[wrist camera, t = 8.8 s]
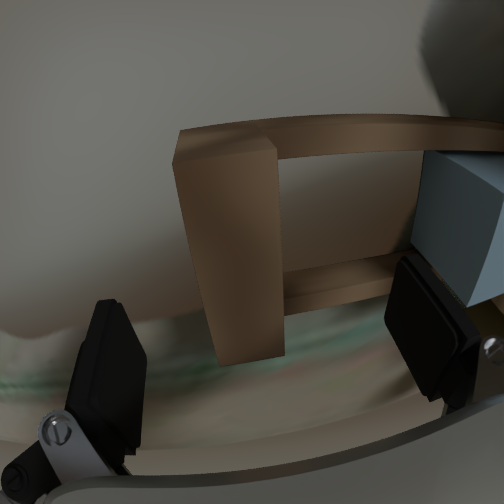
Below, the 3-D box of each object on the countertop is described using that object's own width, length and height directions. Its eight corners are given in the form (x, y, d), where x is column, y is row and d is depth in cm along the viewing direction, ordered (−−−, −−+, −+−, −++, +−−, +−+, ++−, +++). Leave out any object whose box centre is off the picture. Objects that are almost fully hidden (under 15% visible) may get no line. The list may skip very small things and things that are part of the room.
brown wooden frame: (522, 126, 14) (572, 152, 10) (495, 244, 19) (531, 279, 16) (180, 130, 12) (172, 163, 9) (213, 301, 18) (219, 366, 14)
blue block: (492, 146, 15) (563, 189, 10) (475, 229, 18) (530, 281, 13) (424, 144, 14) (505, 194, 9) (409, 241, 18) (466, 307, 13)
